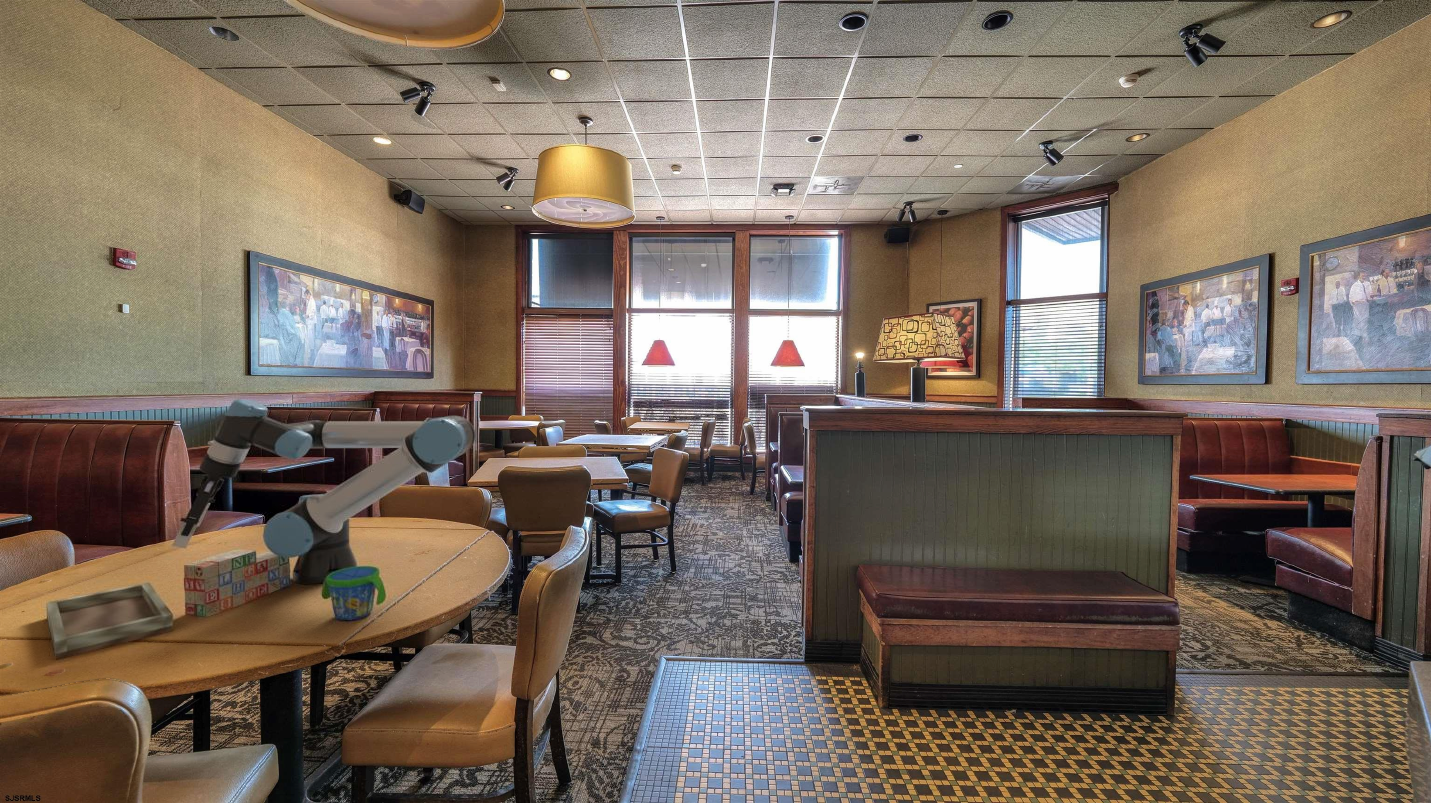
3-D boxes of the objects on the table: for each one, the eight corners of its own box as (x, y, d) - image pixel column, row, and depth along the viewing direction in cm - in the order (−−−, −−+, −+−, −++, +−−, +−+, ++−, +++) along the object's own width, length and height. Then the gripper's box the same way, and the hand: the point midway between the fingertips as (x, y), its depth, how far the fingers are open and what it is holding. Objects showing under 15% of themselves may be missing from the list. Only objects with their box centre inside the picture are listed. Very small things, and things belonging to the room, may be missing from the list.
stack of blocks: (271, 584, 155) (270, 539, 155) (291, 585, 154) (290, 540, 154) (184, 615, 135) (182, 563, 134) (205, 618, 133) (204, 565, 133)
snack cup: (398, 610, 138) (398, 569, 137) (359, 628, 128) (358, 583, 127) (349, 602, 142) (348, 562, 142) (307, 619, 132) (306, 576, 132)
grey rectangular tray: (149, 596, 145) (149, 582, 145) (173, 630, 126) (172, 614, 126) (46, 618, 132) (46, 602, 132) (55, 659, 113) (55, 641, 113)
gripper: (216, 440, 153) (179, 513, 152) (194, 468, 132) (152, 552, 132) (249, 449, 157) (214, 520, 156) (233, 477, 137) (193, 559, 136)
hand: (185, 535), depth 144 cm, fingers open, 13 cm apart
